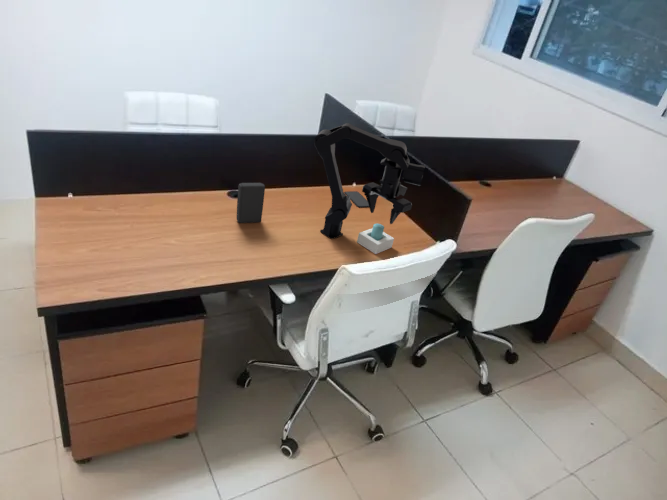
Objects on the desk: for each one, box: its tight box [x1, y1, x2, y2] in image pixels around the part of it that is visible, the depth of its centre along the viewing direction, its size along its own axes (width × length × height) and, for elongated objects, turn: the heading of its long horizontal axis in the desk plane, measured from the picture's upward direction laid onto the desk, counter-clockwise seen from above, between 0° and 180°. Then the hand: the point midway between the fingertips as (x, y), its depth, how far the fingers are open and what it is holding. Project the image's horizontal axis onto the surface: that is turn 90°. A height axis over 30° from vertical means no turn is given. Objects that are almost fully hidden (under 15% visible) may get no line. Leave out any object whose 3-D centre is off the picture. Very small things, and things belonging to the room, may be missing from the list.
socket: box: [356, 227, 395, 255], centre depth 178 cm, size 9×9×4 cm
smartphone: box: [343, 190, 369, 209], centre depth 210 cm, size 7×1×15 cm
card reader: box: [236, 182, 266, 224], centre depth 174 cm, size 9×4×15 cm, turn 113°
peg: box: [371, 223, 385, 241], centre depth 177 cm, size 4×4×8 cm
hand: (381, 218), depth 173 cm, fingers open, 9 cm apart
